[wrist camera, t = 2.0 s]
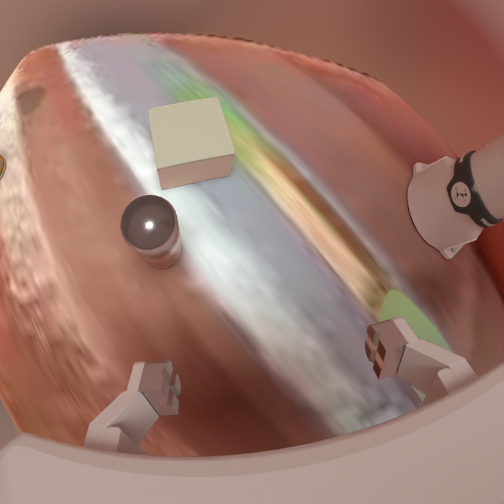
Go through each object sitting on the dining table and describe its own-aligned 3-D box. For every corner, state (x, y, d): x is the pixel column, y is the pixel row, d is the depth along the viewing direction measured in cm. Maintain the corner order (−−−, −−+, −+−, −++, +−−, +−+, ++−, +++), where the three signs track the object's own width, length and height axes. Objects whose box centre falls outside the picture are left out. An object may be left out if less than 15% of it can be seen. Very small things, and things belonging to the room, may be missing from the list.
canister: (177, 224, 34) (170, 187, 23) (186, 263, 33) (183, 242, 22) (138, 234, 33) (115, 201, 22) (146, 273, 32) (124, 257, 21)
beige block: (213, 123, 38) (217, 97, 32) (228, 175, 36) (235, 153, 31) (152, 134, 35) (147, 109, 30) (161, 190, 34) (156, 168, 29)
